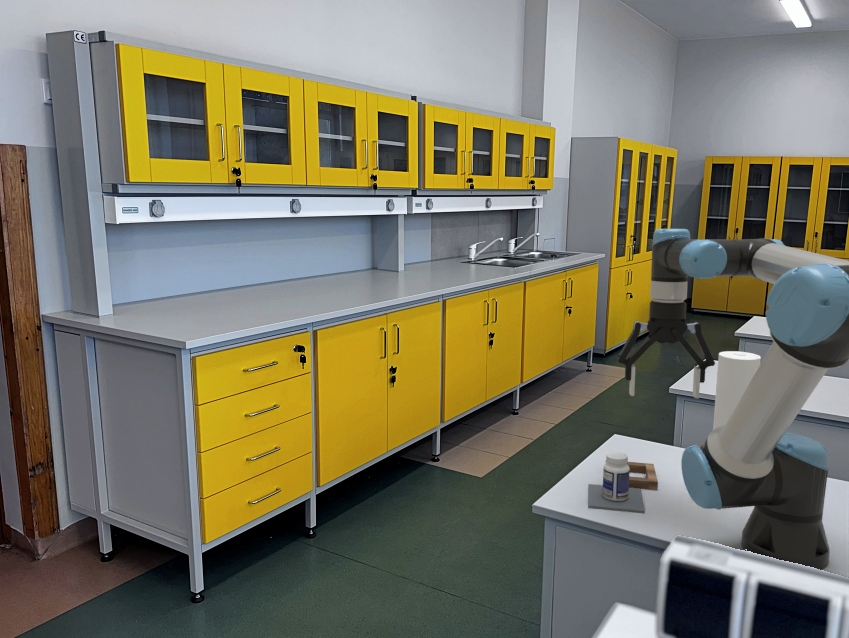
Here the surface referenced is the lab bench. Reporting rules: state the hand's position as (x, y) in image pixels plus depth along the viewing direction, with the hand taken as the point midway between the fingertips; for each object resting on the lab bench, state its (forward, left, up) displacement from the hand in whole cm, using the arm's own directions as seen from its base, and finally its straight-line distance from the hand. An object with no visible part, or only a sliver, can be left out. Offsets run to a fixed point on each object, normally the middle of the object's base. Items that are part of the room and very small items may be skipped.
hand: (663, 395), depth 153 cm
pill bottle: (-2, +9, -24) cm, 26 cm away
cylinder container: (+23, -20, -25) cm, 39 cm away
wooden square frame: (+11, +5, -25) cm, 27 cm away
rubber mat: (-2, +9, -25) cm, 26 cm away
